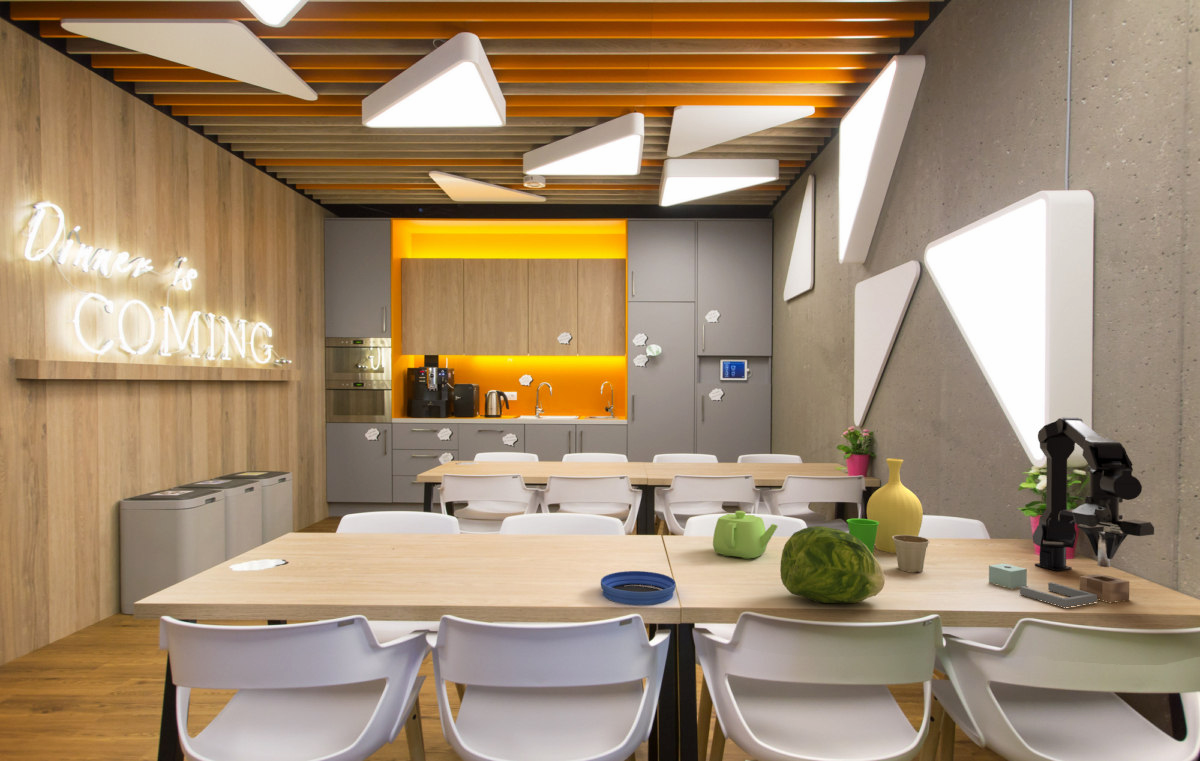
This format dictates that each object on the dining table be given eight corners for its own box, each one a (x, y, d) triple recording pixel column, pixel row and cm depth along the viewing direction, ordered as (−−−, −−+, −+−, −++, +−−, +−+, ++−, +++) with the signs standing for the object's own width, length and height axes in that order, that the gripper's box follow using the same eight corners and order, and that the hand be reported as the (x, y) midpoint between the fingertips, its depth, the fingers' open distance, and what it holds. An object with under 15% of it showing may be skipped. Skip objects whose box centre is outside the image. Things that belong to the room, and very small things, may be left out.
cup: (878, 556, 202) (878, 519, 202) (880, 564, 193) (880, 525, 193) (845, 554, 205) (846, 517, 205) (846, 561, 196) (846, 523, 196)
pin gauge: (1101, 564, 165) (1101, 531, 165) (1112, 566, 163) (1112, 533, 163) (1095, 565, 164) (1095, 532, 164) (1105, 567, 162) (1105, 534, 162)
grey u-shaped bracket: (1051, 590, 169) (1051, 582, 169) (1097, 603, 159) (1097, 594, 159) (1019, 594, 165) (1019, 586, 165) (1065, 608, 155) (1065, 599, 155)
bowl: (654, 612, 151) (654, 596, 151) (586, 598, 161) (586, 583, 161) (687, 592, 167) (687, 577, 167) (624, 580, 176) (624, 566, 176)
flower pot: (933, 575, 182) (933, 543, 182) (896, 573, 184) (896, 541, 184) (924, 566, 191) (924, 535, 191) (888, 564, 193) (888, 534, 193)
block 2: (1098, 591, 168) (1098, 573, 168) (1129, 600, 162) (1129, 581, 162) (1079, 594, 166) (1079, 576, 166) (1110, 603, 159) (1110, 584, 159)
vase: (932, 556, 203) (932, 462, 203) (878, 555, 203) (878, 462, 203) (908, 543, 219) (909, 456, 219) (858, 543, 219) (859, 456, 219)
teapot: (787, 553, 205) (787, 510, 205) (765, 567, 188) (765, 521, 189) (729, 545, 215) (730, 504, 215) (704, 558, 198) (704, 513, 198)
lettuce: (909, 581, 148) (885, 519, 163) (805, 562, 147) (791, 501, 162) (875, 631, 158) (855, 568, 173) (778, 614, 157) (767, 552, 172)
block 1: (1004, 580, 178) (1004, 562, 178) (1026, 586, 173) (1026, 568, 173) (988, 583, 176) (988, 565, 176) (1011, 589, 170) (1011, 571, 170)
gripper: (1043, 489, 170) (1043, 551, 170) (1124, 501, 152) (1124, 570, 152) (1073, 486, 174) (1073, 547, 174) (1155, 498, 156) (1155, 566, 156)
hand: (1103, 557), depth 164 cm, fingers closed on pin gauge, 2 cm apart
